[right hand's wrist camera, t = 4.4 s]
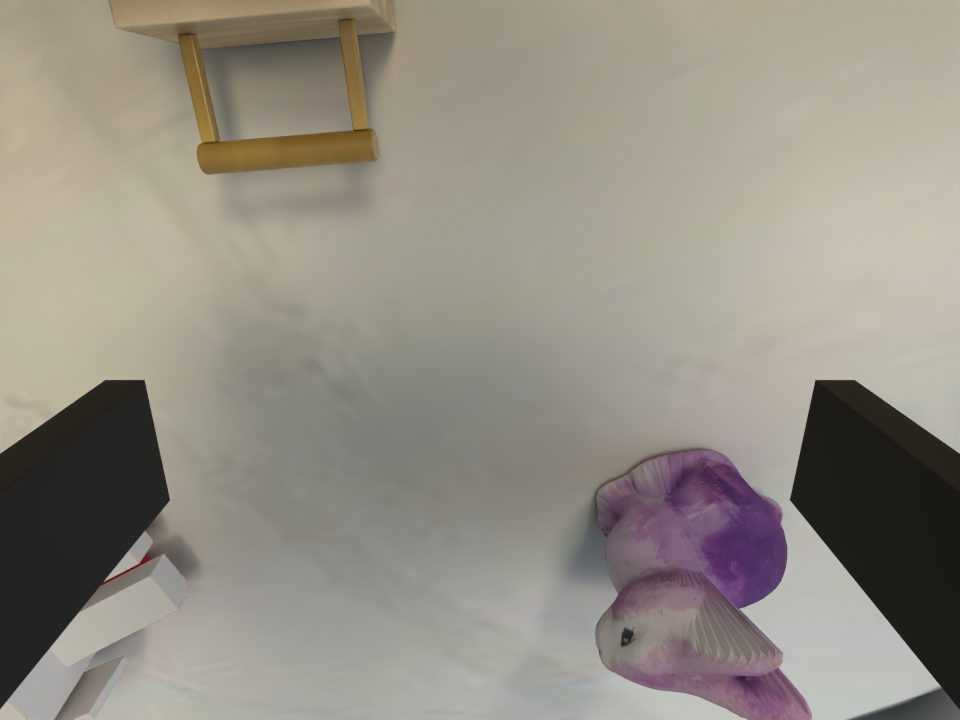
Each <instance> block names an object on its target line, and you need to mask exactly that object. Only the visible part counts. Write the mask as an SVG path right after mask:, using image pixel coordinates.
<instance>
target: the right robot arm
mask: <svg viewBox="0 0 960 720" xmlns="http://www.w3.org/2000/svg"><path fill="white" fill-rule="evenodd" d="M169 501H170V498H169V493H168V489H167V484H166V479H165V474H164V470H163V465H162V460H161V456H160V451H159V446H158V442H157V437H156V432H155V427H154V423H153V418H152V413H151V409H150V404H149V399H148V394H147V390H146V385H145V380H105V381H103V382H102V383H101V384H99V385H98V386H96V387H95V388H94V389H92V390H91V391H89V392H88V393H86V394H85V395H84V396H82V397H81V398H79V399H78V400H76V401H75V402H74V403H72V404H71V405H69V406H68V407H66V408H65V409H64V410H62V411H61V412H59V413H58V414H56V415H55V416H54V417H52V418H51V419H49V420H48V421H46V422H45V423H44V424H42V425H41V426H39V427H38V428H36V429H35V430H34V431H32V432H31V433H29V434H28V435H26V436H25V437H24V438H22V439H21V440H19V441H18V442H17V443H15V444H14V445H12V446H11V447H9V448H8V449H7V450H5V451H4V452H2V453H1V454H0V709H1V708H2V707H3V705H4V704H5V703H6V702H7V701H8V699H9V698H10V697H11V696H12V694H13V693H14V692H15V691H16V689H17V688H18V687H19V686H20V684H21V683H22V682H23V681H24V680H25V678H26V677H27V676H28V675H29V673H30V672H31V671H32V670H33V668H34V667H35V666H36V665H37V663H38V662H39V661H40V660H41V659H42V657H43V656H44V655H45V654H46V652H47V651H48V650H49V649H50V647H51V646H52V645H53V644H54V643H55V641H56V640H57V639H58V638H59V636H60V635H61V634H62V633H63V631H64V630H65V629H66V628H67V626H68V625H69V624H70V623H71V622H72V620H73V619H74V618H75V617H76V615H77V614H78V613H79V612H80V610H81V609H82V608H83V607H84V605H85V604H86V603H87V602H88V601H89V599H90V598H91V597H92V596H93V594H94V593H95V592H96V591H97V589H98V588H99V587H100V586H101V585H102V583H103V582H104V581H105V580H106V578H107V577H108V576H109V575H110V573H111V572H112V571H113V570H114V568H115V567H116V566H117V565H118V564H119V562H120V561H121V560H122V559H123V557H124V556H125V555H126V554H127V552H128V551H129V550H130V549H131V547H132V546H133V545H134V544H135V543H136V541H137V540H138V539H139V538H140V536H141V535H142V534H143V533H144V531H145V530H146V529H147V528H148V527H149V525H150V524H151V523H152V522H153V520H154V519H155V518H156V517H157V515H158V514H159V513H160V512H161V510H162V509H163V508H164V507H165V506H166V504H167V503H168V502H169ZM790 501H791V502H792V503H793V504H794V506H795V507H796V508H797V509H798V510H799V512H800V513H801V514H802V515H803V517H804V518H805V519H806V520H807V522H808V523H809V524H810V525H811V527H812V528H813V529H814V530H815V531H816V533H817V534H818V535H819V536H820V538H821V539H822V540H823V541H824V543H825V544H826V545H827V546H828V547H829V549H830V550H831V551H832V552H833V554H834V555H835V556H836V557H837V559H838V560H839V561H840V562H841V564H842V565H843V566H844V567H845V568H846V570H847V571H848V572H849V573H850V575H851V576H852V577H853V578H854V580H855V581H856V582H857V583H858V585H859V586H860V587H861V588H862V589H863V591H864V592H865V593H866V594H867V596H868V597H869V598H870V599H871V601H872V602H873V603H874V604H875V605H876V607H877V608H878V609H879V610H880V612H881V613H882V614H883V615H884V617H885V618H886V619H887V620H888V622H889V623H890V624H891V625H892V626H893V628H894V629H895V630H896V631H897V633H898V634H899V635H900V636H901V638H902V639H903V640H904V641H905V643H906V644H907V645H908V646H909V647H910V649H911V650H912V651H913V652H914V654H915V655H916V656H917V657H918V659H919V660H920V661H921V662H922V663H923V665H924V666H925V667H926V668H927V670H928V671H929V672H930V673H931V675H932V676H933V677H934V678H935V680H936V681H937V682H938V683H939V684H940V686H941V687H942V688H943V689H944V691H945V692H946V693H947V694H948V696H949V697H950V698H951V699H952V700H953V702H954V703H955V704H956V705H957V707H958V708H959V709H960V454H959V453H958V452H956V451H955V450H953V449H952V448H951V447H949V446H948V445H946V444H945V443H943V442H942V441H941V440H939V439H938V438H936V437H935V436H934V435H932V434H931V433H929V432H928V431H926V430H925V429H924V428H922V427H921V426H919V425H918V424H916V423H915V422H914V421H912V420H911V419H909V418H908V417H906V416H905V415H904V414H902V413H901V412H899V411H898V410H896V409H895V408H894V407H892V406H891V405H889V404H888V403H886V402H885V401H884V400H882V399H881V398H879V397H878V396H876V395H875V394H874V393H872V392H871V391H869V390H868V389H866V388H865V387H864V386H862V385H861V384H859V383H858V382H857V381H855V380H815V385H814V390H813V394H812V399H811V404H810V409H809V413H808V418H807V423H806V427H805V432H804V437H803V442H802V446H801V451H800V456H799V460H798V465H797V470H796V474H795V479H794V484H793V489H792V493H791V498H790Z"/></svg>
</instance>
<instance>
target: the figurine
mask: <svg viewBox="0 0 960 720" xmlns="http://www.w3.org/2000/svg"><path fill="white" fill-rule="evenodd" d="M596 503H597V504H598V505H597V507H598V509H597V511H598V513H597V514H598V518H599V519H598V521H599V525H600V526H601V529H602V530H603V531H604V533H605V535H606V536H607V537H608V539H607V541H606V547H605V558H606V565H607V569H608V573H609V575H610V578H611V580H612V582H613V584H614V587H615V589H616V591H617V592H618V596H617V598H616V600H615V601H614V603H613V604H612V605H611V606H610V607H609V608H608V610H607V611H606V612H605V613H604V614H603V615H602V617H601V618H600V620H599V621H598V623H597V625H596V631H595V635H596V645H597V647H598V650H599V655H600V658H601V661H602V663H603V664H604V665H605V666H606V668H607V669H609V670H610V671H612V672H614V673H616V674H618V675H620V676H622V677H624V678H626V679H628V680H630V681H632V682H635V683H637V684H640V685H642V686H645V687H648V688H652V689H656V690H663V691H672V692H681V693H687V694H691V695H694V696H698V697H700V698H703V699H705V700H707V701H710V702H712V703H714V704H716V705H719V706H721V707H723V708H726V709H728V710H729V711H731V712H733V713H735V714H737V715H738V716H740V717H743V718H746V719H748V720H812V714H811V711H810V709H809V706H808V704H807V702H806V701H805V699H804V697H803V696H802V695H801V694H800V693H799V691H798V690H797V689H796V688H795V687H794V686H793V684H792V683H791V682H790V681H789V680H788V678H787V677H786V676H785V675H784V674H783V673H782V671H781V670H780V669H779V668H778V667H779V666H780V665H781V663H782V661H783V653H782V652H781V651H780V650H779V649H778V648H777V647H776V646H775V645H774V644H773V643H772V642H771V641H770V640H769V639H768V638H767V637H766V636H765V635H764V634H763V633H762V632H761V631H760V630H759V628H758V627H757V626H756V625H755V624H754V623H753V622H752V621H751V620H750V619H749V618H748V617H747V616H746V615H745V614H744V613H743V612H742V611H741V610H740V609H739V608H743V607H746V606H748V605H751V604H753V603H755V602H757V601H759V600H761V599H763V598H764V597H766V596H767V595H768V594H770V593H771V592H772V591H773V590H774V589H776V587H777V586H778V584H779V583H780V582H781V579H782V577H783V574H784V571H785V568H786V562H787V544H786V539H785V535H784V531H783V528H782V526H781V523H782V521H783V515H784V514H783V511H782V508H781V507H780V505H779V504H778V503H777V502H776V501H775V500H773V499H771V498H768V497H765V496H762V495H760V494H757V493H756V492H755V491H754V490H753V489H752V488H751V487H750V486H749V485H748V484H747V483H746V481H745V480H744V479H743V478H742V477H741V475H740V474H739V472H738V470H737V469H736V467H735V466H734V465H733V463H732V462H731V461H730V460H729V459H728V458H727V457H726V456H724V455H722V454H720V453H718V452H715V451H711V450H705V449H697V450H691V451H685V452H678V453H673V454H667V455H662V456H659V457H656V458H653V459H650V460H645V461H644V462H642V463H641V464H640V465H638V466H637V467H635V468H634V469H633V470H632V471H630V472H629V473H628V475H625V476H623V477H621V478H619V479H615V480H614V481H611V482H609V483H607V484H605V485H604V486H602V487H601V488H600V489H599V490H598V493H597V495H596Z"/></svg>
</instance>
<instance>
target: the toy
mask: <svg viewBox="0 0 960 720" xmlns="http://www.w3.org/2000/svg"><path fill="white" fill-rule="evenodd" d="M153 542H154V541H153V540H152V539H151V537H150V536H149V535H148V534H147V532H146V531H144V533H143V534H142V535H141V536H140V538H139V539H138V540H137V541H136V543H135V544H134V545H133V546H132V547H131V549H130V550H129V551H128V552H127V554H126V555H125V556H124V557H123V559H122V560H121V561H120V562H119V564H118V565H117V566H116V567H115V568H114V570H113V571H112V572H111V573H110V575H109V576H108V577H107V578H106V580H105V581H104V582H103V583H102V585H101V586H100V587H99V588H98V589H97V591H96V592H95V593H94V594H93V596H92V597H91V598H90V599H89V601H88V602H87V603H86V604H85V605H84V607H83V608H82V609H81V610H80V612H79V613H78V614H77V615H76V617H75V618H74V619H73V620H72V622H71V623H70V624H69V625H68V626H67V628H66V629H65V630H64V631H63V633H62V634H61V635H60V636H59V638H58V639H57V640H56V641H55V643H54V644H53V645H52V646H51V647H50V649H49V650H48V651H47V652H46V654H45V655H44V656H43V657H42V659H41V660H40V661H39V662H38V663H37V665H36V666H35V667H34V668H33V670H32V671H31V672H30V673H29V675H28V676H27V677H26V678H25V680H24V681H23V682H22V683H21V684H20V686H19V687H18V688H17V689H16V691H15V692H14V693H13V694H12V696H11V697H10V698H9V699H8V701H7V702H6V703H5V704H4V705H3V707H2V708H1V709H0V720H94V719H95V717H96V716H97V714H98V712H99V711H100V709H101V707H102V706H103V704H104V702H105V701H106V699H107V697H108V696H109V694H110V692H111V691H112V689H113V687H114V686H115V684H116V682H117V681H118V679H119V677H120V676H121V674H122V672H123V671H124V669H125V667H126V666H127V664H128V661H127V660H126V658H125V657H124V656H123V657H120V658H118V659H115V660H113V661H111V662H108V663H106V664H103V665H101V666H98V667H96V668H93V669H91V670H88V671H86V672H84V671H85V670H86V668H87V666H88V665H89V663H90V662H91V660H92V658H93V657H94V655H95V654H96V652H97V651H99V650H101V649H103V648H105V647H107V646H109V645H111V644H113V643H115V642H116V641H118V640H120V639H122V638H124V637H126V636H128V635H130V634H132V633H134V632H136V631H138V630H140V629H142V628H144V627H146V626H148V625H150V624H152V623H154V622H156V621H157V620H159V619H161V618H163V617H165V616H167V615H169V614H171V613H173V612H175V611H177V610H179V608H180V606H181V604H182V602H183V600H184V598H185V596H186V594H187V592H188V590H189V588H190V585H189V583H188V582H187V581H186V580H185V579H184V577H183V576H182V575H181V574H180V573H179V571H178V570H177V569H176V568H175V566H174V565H173V564H172V563H171V562H170V560H169V559H168V558H167V557H166V556H165V554H162V555H160V556H158V557H156V558H154V559H152V560H149V559H148V558H147V557H146V556H145V554H146V553H147V551H148V550H149V548H150V547H151V545H152V544H153Z"/></svg>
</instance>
